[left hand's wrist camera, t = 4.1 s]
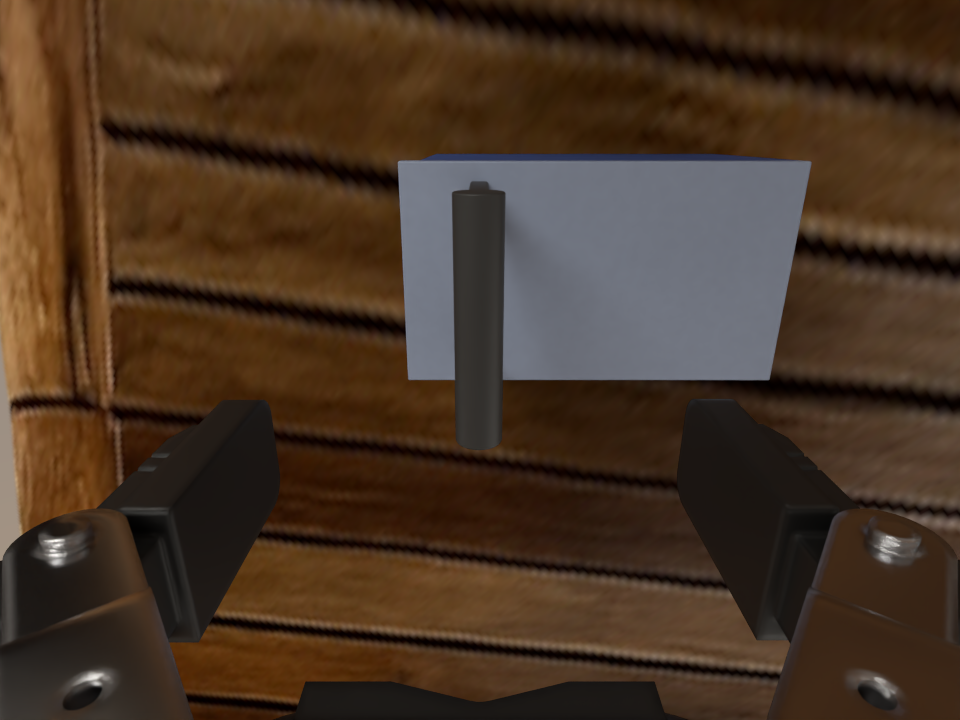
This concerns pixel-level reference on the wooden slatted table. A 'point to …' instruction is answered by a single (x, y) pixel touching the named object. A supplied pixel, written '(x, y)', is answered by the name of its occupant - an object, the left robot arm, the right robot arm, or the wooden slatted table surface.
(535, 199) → the grey lid
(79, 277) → the wooden slatted table surface
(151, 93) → the wooden slatted table surface
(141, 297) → the wooden slatted table surface
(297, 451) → the wooden slatted table surface
